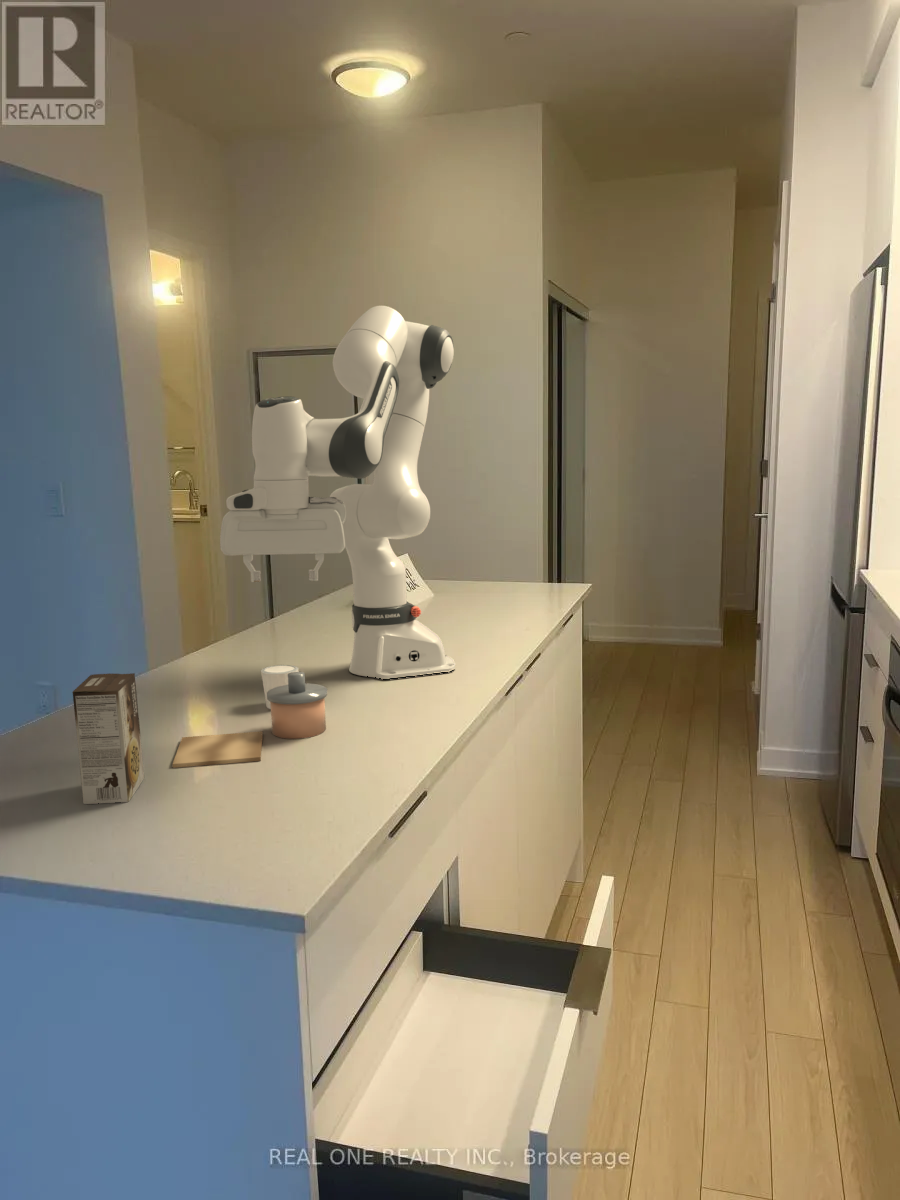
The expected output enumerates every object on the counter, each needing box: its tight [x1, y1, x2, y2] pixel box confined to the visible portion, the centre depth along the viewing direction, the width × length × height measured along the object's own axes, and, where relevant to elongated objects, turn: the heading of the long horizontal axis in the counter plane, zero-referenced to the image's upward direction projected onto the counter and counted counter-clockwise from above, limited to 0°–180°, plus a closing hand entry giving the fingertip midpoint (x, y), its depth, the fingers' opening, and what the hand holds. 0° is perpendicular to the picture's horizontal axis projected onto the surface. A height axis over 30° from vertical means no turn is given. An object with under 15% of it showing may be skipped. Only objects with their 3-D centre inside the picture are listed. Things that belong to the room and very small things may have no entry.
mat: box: [172, 730, 264, 768], centre depth 147 cm, size 13×13×1 cm
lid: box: [267, 671, 328, 704], centre depth 155 cm, size 10×10×4 cm
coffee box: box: [71, 672, 145, 805], centre depth 129 cm, size 9×6×16 cm
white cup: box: [260, 664, 299, 710], centre depth 170 cm, size 7×7×7 cm
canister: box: [270, 697, 327, 740], centre depth 155 cm, size 9×9×6 cm
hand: (284, 581), depth 153 cm, fingers open, 8 cm apart
